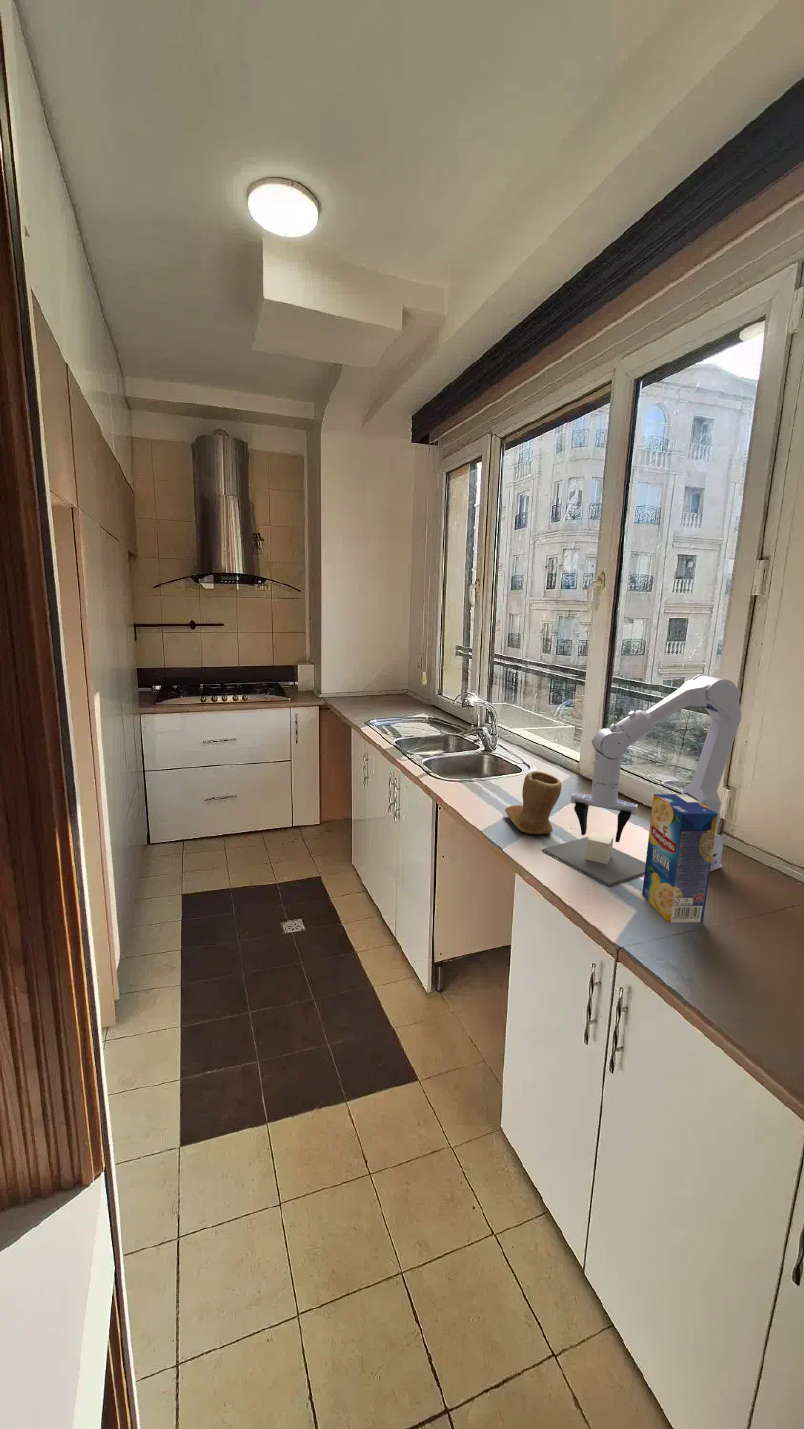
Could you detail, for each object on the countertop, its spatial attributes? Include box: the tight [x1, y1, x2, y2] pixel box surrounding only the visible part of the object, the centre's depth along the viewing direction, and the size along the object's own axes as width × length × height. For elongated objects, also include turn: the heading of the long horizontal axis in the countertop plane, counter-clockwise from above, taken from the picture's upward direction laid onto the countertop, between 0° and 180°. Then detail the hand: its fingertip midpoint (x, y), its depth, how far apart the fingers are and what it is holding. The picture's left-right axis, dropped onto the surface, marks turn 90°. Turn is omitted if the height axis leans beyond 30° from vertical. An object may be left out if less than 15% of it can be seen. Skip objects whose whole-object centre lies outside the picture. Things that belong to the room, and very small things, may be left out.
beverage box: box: [641, 793, 718, 924], centre depth 116 cm, size 7×11×22 cm, turn 4°
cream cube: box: [585, 831, 614, 864], centre depth 138 cm, size 5×5×5 cm
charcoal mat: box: [542, 836, 646, 887], centre depth 138 cm, size 20×16×1 cm
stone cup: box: [504, 770, 562, 835], centre depth 156 cm, size 15×12×15 cm
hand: (600, 837), depth 137 cm, fingers open, 7 cm apart
